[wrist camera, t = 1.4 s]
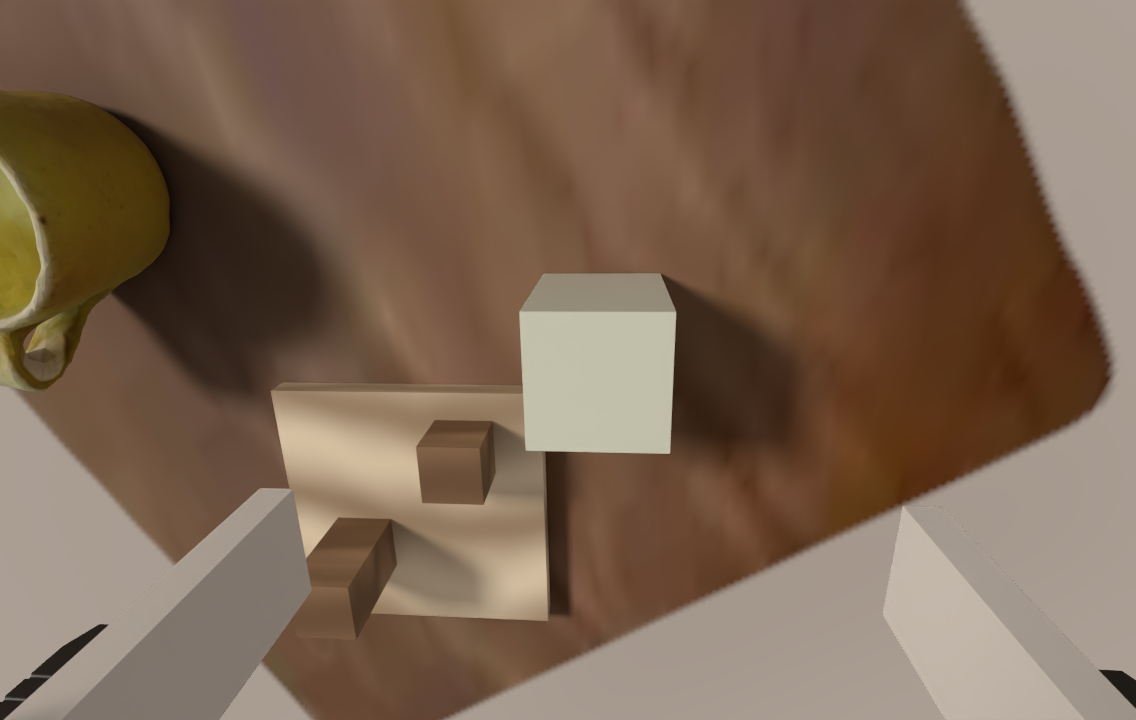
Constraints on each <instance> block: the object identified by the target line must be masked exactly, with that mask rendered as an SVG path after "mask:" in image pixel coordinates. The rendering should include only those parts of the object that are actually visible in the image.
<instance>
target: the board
mask: <svg viewBox="0 0 1136 720" xmlns="http://www.w3.org/2000/svg"><path fill="white" fill-rule="evenodd" d="M271 395H272V400H273V405H274V411H275V416H276V421H277V426H278V431H279V437H280V442H281V447H282V452H283V457H284V462H285V468H286V473H287V478H288V483H289V488H290V489H293V492H294V497H295V503H296V508H297V513H298V519H299V524H300V530H301V535H302V540H303V546H304V551H305V557H306V558H307V557H308V556H309V554H310V553H311V552H312V550H313V549H314V548H315V547H316V545H317V544H318V543H319V541H320V540H321V539H322V538H323V536H324V535H325V534H326V533H327V531H328V530H329V529H330V527H331V526H332V525H333V524H334V522H335V521H336V520H337V518H338V517H341V518H374V519H391V522H392V530H393V538H394V545H395V553H396V560H397V566H396V568H395V569H394V571H393V573H392V575H391V577H390V579H389V580H388V582H387V584H386V586H385V588H384V590H383V592H382V593H381V595H380V597H379V599H378V601H377V603H376V604H375V606H374V608H373V610H372V612H371V613H378V614H401V615H425V616H448V617H471V618H494V619H517V620H541V621H548V618H549V612H550V580H549V550H548V519H547V488H546V457H545V451H526V448H525V425H524V403H523V385H458V384H373V383H289V382H283V383H282V384H280V385H279V386H277V387H276V388H274V389H272V390H271Z"/></svg>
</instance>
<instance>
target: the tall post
mask: <svg viewBox="0 0 1136 720" xmlns="http://www.w3.org/2000/svg"><path fill="white" fill-rule="evenodd" d="M306 562H307V567H308V573H309V578H310V584H311V589H312V591H311V592H310V594H309V595H308V597H307V598H306V599H305V601H304V602H303V604H302V605H301V606H300V608H299V609H298V611H297V612H296V613H295V615H294V616H293V618H292V621H293V626H294V630H295V635H296V637H308V638H329V639H350V640H357V638H358V636H359V634H360V632H361V630H362V628H363V627H364V625H365V623H366V621H367V619H368V617H369V616H370V614H371V612H372V610H373V608H374V606H375V604H376V603H377V601H378V599H379V597H380V595H381V593H382V592H383V590H384V588H385V586H386V584H387V582H388V580H389V579H390V577H391V575H392V573H393V571H394V569H395V568H396V566H397V560H396V553H395V545H394V538H393V530H392V522H391V519H374V518H341V517H338V518H337V520H336V521H335V522H334V524H333V525H332V526H331V527H330V529H329V530H328V531H327V533H326V534H325V535H324V536H323V538H322V539H321V540H320V541H319V543H318V544H317V545H316V547H315V548H314V549H313V550H312V552H311V553H310V554H309V556H308V557H307V558H306Z"/></svg>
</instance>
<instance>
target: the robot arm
mask: <svg viewBox="0 0 1136 720" xmlns="http://www.w3.org/2000/svg"><path fill="white" fill-rule="evenodd" d="M311 591H312V589H311V584H310V578H309V573H308V567H307V562H306V557H305V551H304V546H303V540H302V535H301V530H300V524H299V519H298V513H297V508H296V503H295V497H294V492H293V489H273V488H260V489H259V490H258V491H257V492H256V493H254V494H253V495H252V496H251V497H250V498H249V499H248V500H247V501H246V502H244V503H243V504H242V505H241V506H240V507H239V508H238V509H237V510H236V511H234V512H233V513H232V514H231V515H230V516H229V517H228V518H227V519H226V520H224V521H223V522H222V523H221V524H220V525H219V526H218V527H217V528H216V529H215V530H213V531H212V532H211V533H210V534H209V535H208V536H207V537H206V538H205V539H203V540H202V541H201V542H200V543H199V544H198V545H197V546H196V547H195V548H193V549H192V550H191V551H190V552H189V553H188V554H187V555H186V556H185V557H183V558H182V559H181V560H180V561H179V562H178V563H177V564H176V565H175V566H173V567H172V568H171V569H170V570H169V571H168V572H167V573H166V574H165V575H164V576H162V577H161V578H160V579H159V580H158V581H157V582H156V583H155V584H154V585H153V586H151V587H150V588H149V589H148V590H147V591H146V592H145V593H144V594H142V595H141V596H140V597H139V598H138V599H137V600H136V601H135V602H134V603H132V604H131V605H130V606H129V607H128V608H127V609H126V610H125V611H124V612H123V613H121V614H120V615H119V616H118V617H117V618H116V619H115V620H114V621H113V622H112V623H110V624H109V625H104V624H100V625H98V626H96V627H94V628H93V629H91V630H89V631H88V632H86V633H85V634H83V635H81V636H79V637H78V638H76V639H74V640H73V641H71V642H69V643H68V644H66V645H64V646H63V647H61V648H60V649H59V650H58V651H57V652H56V653H55V654H53V655H52V656H51V657H50V658H49V659H47V660H46V661H45V662H44V663H43V664H42V665H41V666H39V667H38V668H37V669H36V670H35V671H34V672H32V675H31V677H30V678H29V679H24V680H23V681H22V682H21V683H20V684H19V685H17V686H16V687H15V688H14V689H13V690H12V691H11V692H9V693H8V694H7V695H6V696H5V700H4V701H3V702H0V720H219V719H220V718H221V716H222V715H223V714H224V712H225V711H226V709H227V708H228V707H229V705H230V704H231V702H232V701H233V700H234V698H235V697H236V696H237V694H238V693H239V691H240V690H241V689H242V687H243V686H244V684H245V683H246V682H247V680H248V679H249V677H250V676H251V675H252V673H253V672H254V670H255V669H256V668H257V666H258V665H259V663H260V662H261V661H262V659H263V658H264V657H265V655H266V654H267V652H268V651H269V650H270V648H271V647H272V645H273V644H274V643H275V641H276V640H277V638H278V637H279V636H280V634H281V633H282V631H283V630H284V629H285V627H286V626H287V624H288V623H289V622H290V620H291V619H292V618H293V616H294V615H295V613H296V612H297V611H298V609H299V608H300V606H301V605H302V604H303V602H304V601H305V599H306V598H307V597H308V595H309V594H310V592H311ZM883 616H884V618H885V620H886V621H887V623H888V624H889V626H890V628H891V630H892V631H893V633H894V635H895V636H896V638H897V640H898V641H899V643H900V645H901V646H902V648H903V650H904V651H905V653H906V655H907V656H908V658H909V660H910V661H911V663H912V665H913V666H914V668H915V670H916V671H917V673H918V675H919V676H920V678H921V680H922V681H923V683H924V685H925V686H926V688H927V690H928V692H929V693H930V695H931V696H932V698H933V700H934V702H935V703H936V705H937V706H938V708H939V710H940V712H941V713H942V715H943V717H944V718H945V720H1136V680H1134V679H1133V678H1131V677H1130V676H1128V675H1127V674H1126V673H1124V672H1123V671H1114V670H1098V669H1097V668H1096V667H1095V666H1094V665H1093V664H1092V663H1091V662H1090V661H1089V660H1088V659H1087V658H1086V657H1085V656H1084V655H1083V653H1082V652H1081V651H1079V649H1078V648H1077V647H1076V646H1075V645H1074V644H1073V643H1072V642H1071V641H1070V640H1069V639H1068V638H1067V637H1066V636H1065V635H1064V634H1063V633H1062V632H1061V631H1060V630H1059V629H1058V627H1057V626H1055V624H1054V623H1053V622H1052V621H1051V620H1050V619H1049V618H1048V617H1047V616H1046V615H1045V614H1044V613H1043V612H1042V611H1041V610H1040V609H1039V608H1038V607H1037V606H1036V605H1035V604H1034V603H1033V602H1032V600H1030V598H1029V597H1028V596H1027V595H1026V594H1025V593H1024V592H1023V591H1022V590H1021V589H1020V588H1019V587H1018V586H1017V585H1016V584H1015V583H1014V582H1013V581H1012V580H1011V579H1010V578H1009V577H1008V575H1007V574H1006V573H1005V572H1004V571H1003V570H1002V569H1001V568H1000V567H999V566H998V565H997V564H996V563H995V562H994V561H993V560H992V559H991V558H990V557H989V556H988V555H987V554H986V553H985V552H984V551H983V549H982V548H981V547H980V546H979V545H978V544H977V543H976V542H975V541H974V540H973V539H972V538H971V537H970V536H969V535H968V534H967V533H966V532H965V531H964V530H963V529H962V528H961V527H960V526H959V524H958V523H957V522H956V521H955V520H954V519H952V517H951V516H950V515H949V514H948V513H947V512H946V511H945V510H944V509H943V508H942V507H927V506H926V507H925V506H903V507H902V513H901V518H900V523H899V529H898V534H897V539H896V545H895V550H894V556H893V561H892V566H891V571H890V576H889V582H888V587H887V592H886V598H885V603H884V609H883Z"/></svg>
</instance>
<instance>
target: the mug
mask: <svg viewBox="0 0 1136 720" xmlns="http://www.w3.org/2000/svg"><path fill="white" fill-rule="evenodd" d="M169 208H170V197H169V192H168V188H167V185H166V182H165V179H164V177H163V174H162V172H161V170H160V168H159V166H158V164H157V162H156V160H155V158H154V157H153V155H152V154H151V152H150V151H149V149H148V148H147V146H146V145H145V144H144V143H143V142H142V141H141V139H140V138H139V137H138V136H137V135H136V134H134V133H133V132H132V131H131V130H130V129H129V128H128V127H127V126H126V125H124V124H123V123H122V122H120V121H119V120H118V119H117V118H115V117H114V116H112V115H111V114H110V113H108V112H106V111H105V110H103V109H101V108H100V107H98V106H96V105H94V104H92V103H90V102H87V101H84V100H81V99H77V98H74V97H72V96H67V95H63V94H58V93H52V92H37V91H0V385H2V386H7V387H12V388H17V389H22V390H27V391H35V392H37V391H45V390H46V389H47V388H48V387H50V386H51V385H52V384H53V383H54V382H55V381H56V380H58V379H59V378H60V377H62V375H63V373H64V371H65V369H66V368H67V366H68V365H69V364H70V362H71V361H72V358H73V356H74V353H75V350H76V348H77V346H78V344H79V342H80V337H81V333H82V329H83V327H84V325H85V322H86V320H87V316H88V314H89V313H90V311H91V309H92V308H93V307H94V306H95V305H96V304H97V303H98V302H100V301H101V300H102V299H104V298H105V297H106V296H107V295H108V294H109V293H111V292H112V291H113V290H114V289H115V288H116V287H117V286H119V285H120V284H121V283H122V282H124V281H126V280H128V279H130V278H132V277H134V276H136V275H138V274H139V273H140V272H141V271H143V270H144V269H145V268H146V267H148V266H149V265H150V264H151V263H153V262H154V261H155V260H156V258H157V257H158V256H159V255H160V254H161V253H162V251H163V249H164V247H165V245H166V243H167V240H168V237H169V234H170V219H169ZM36 327H37V329H36V332H35V334H34V336H33V338H32V340H31V342H30V344H29V346H28V348H27V349H26V351H25V350H24V347H23V342H24V340H25V338H26V337H27V335H28V334H29V333H30V332H31V331H32V330H33V329H34V328H36Z"/></svg>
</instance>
